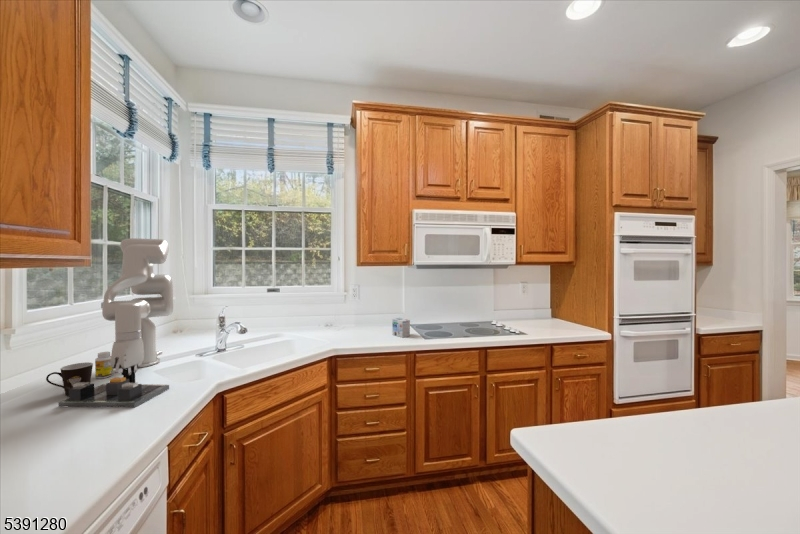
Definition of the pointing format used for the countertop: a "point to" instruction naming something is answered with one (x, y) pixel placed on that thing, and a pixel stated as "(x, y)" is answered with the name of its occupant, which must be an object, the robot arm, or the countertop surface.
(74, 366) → the coffee mug
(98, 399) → the panel
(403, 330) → the light bulb box
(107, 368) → the supplement bottle
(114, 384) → the block
